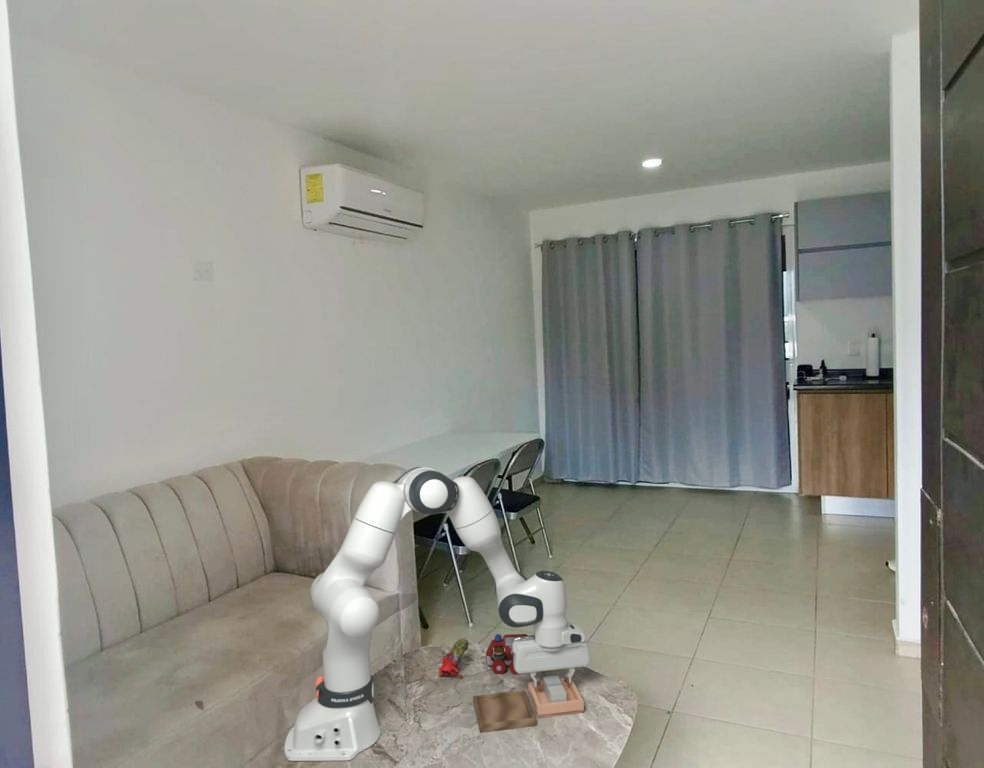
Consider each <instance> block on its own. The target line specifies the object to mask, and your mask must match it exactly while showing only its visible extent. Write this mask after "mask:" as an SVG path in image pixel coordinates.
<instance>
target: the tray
mask: <svg viewBox="0 0 984 768" xmlns="http://www.w3.org/2000/svg"><path fill="white" fill-rule="evenodd" d="M530 702H531V701H530V700H529V696H528V694H527V692H526V689H522V690H521V689H520V690H513V691H505V692H498V693H496V692H494V693H487V694H479V695H473V696H472V703H473V708H474V712H475V718H476V722H477V727H478V730H479V733H480V734H482V733H489V732H498V731H505V730H511V729H512V730H514V729H521V728H530V727H536V726H537V718H536V716H535V712H534V711H533V708H532V705H531V703H530Z"/></svg>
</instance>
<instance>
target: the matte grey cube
mask: <svg viewBox="0 0 984 768" xmlns="http://www.w3.org/2000/svg"><path fill="white" fill-rule="evenodd" d="M547 690H548V703H554V702H562V701H567V697H566V691H565V689H564V687H563V685H557V686H549V687H547Z"/></svg>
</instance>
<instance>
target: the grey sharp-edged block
mask: <svg viewBox="0 0 984 768" xmlns="http://www.w3.org/2000/svg"><path fill="white" fill-rule="evenodd" d="M559 678H560V677H559V675H557V674H556V675H547V676H543V677H542V680H543V690H544V694H545V696H546V698H547V699H548V690H547V687H549V686H557V685H561V681H560V679H559Z"/></svg>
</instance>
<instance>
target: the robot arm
mask: <svg viewBox="0 0 984 768" xmlns="http://www.w3.org/2000/svg"><path fill="white" fill-rule="evenodd" d="M412 510H413V511H415V512H418V513H421V514H423V515H428V516H429V515H437V514H441V513H446V514H447V516H448V517H449V519H450V521H451V523H452V525H453V528H454V530H455V532H456V534H457V535H458V537H459V539H460V540H461V542H462V543H463V544H464V546H465V547H466V548H467V549H468V550H470V551H473V552H475V553H476V552H478V553H479V554H480V555H481V557H483V559H484V561H485V563H486V565H487V567H488V569H489V571H490V573H491V575H492V577H493V579H494V591H495V597H496V602H497V608H498V609H497V611H498V615H499V618H500V619H501V621H502V622H503V623H504V624H505V625H507V626H508V627H510V628H518V629H519V628H523V627H525V628H526V627H529V626H533V634H532V635H528V636H523V637H522V636H520V637H517V639H515V640H514V641H513V642H512V651H513V652H514V657H513V666H514V669H515V671H516V672H517V673H518V674H517V675H520V674H529V675H530V677H531V679H532V680H533V681H534V687H540V681H541V680H540V678H539V677H536V675H537V672H538V673H539V672H546V671H553V670H554V671H555V670H565V669H568V670H567V673H565V674H563V678H564V682H565V684H568V683H571V678H572V677H573V676H574V674H575V672H576V668H581V667H582V668H583V667H588V666H589V665H590V663H591V655H590V653H591V652H590V649H589V644H588V643H587V641H586V634H585V631H584V630H583V629H582V627H581V626H580V625H579V624H577V623H573V622H568V619H567V615H566V612H567V609H568V607H567V606H568V605H567V604H568V603H567V590H566V586H565V585H566V584H565V581H564V579H563V578H562V576H561V575H559V574H558V573H555V572H553V571H550V570H539V571H536V572H535V573H534V574H533V576H531V577H530V578H529V579H528V578H527V577H526V575H524V574H522V572H520V571H519V570H518V569H517V568H516V567H515V565H514V564H513V561H512V560H511V558H510V556H509V554H508V552H507V550H506V548H505V547H504V544H503V542H502V541H503V540H502V531H501V526H500V524H499V520H498V517H497V515H496V512H495V509H494V508H493V506H492V504H491V502H490V500H489V499H488V497H487V495H486V494H485V492H484V491H483V489H482V487H481V486H480V485H479V483H478V482H477V481H476V480H475V479H474V478H473V477H471V476H464V475H463V476H462V475H461V476H457V477H455V478H453V479H452V478H449V477H448V476H446V475H445V474H443V473H441V472H440V471H437V470H435V469H434V468H431V467H422V466H416V467H413V468H410V469H408V470H406V471H405V472H404V473H403V474H402V475H400V476H399V477H398V478H397V479H395V480H394V481H393V482H392V481H388V480H380V481H376V482H373V484H372V485H371V486H370V487H369V489H368V490H367V491H366V493H365V495H364V496H363V498H362V500H361V502H360V504H359V505H358V508H357V509H356V512H355V513H354V514H355V515H354V517H353V519H352V521H351V523H350V526H349V528H348V531H347V533H346V535H345V538H344V539H343V541H342V542H343V543H342V544H341V546H340V549H339V550H338V552H337V554H336V555H335V556H334V558H333V559H332V561H331V562H330V564H329V565H327V568H326V569H325V570H324V571H323V572H322V573H320V574H319V575H318V576H316V578H315V579H314V580H313V582H312V583H311V586H310V592H309V593H310V599H311V601H312V605H313V607H314V609H315V611H317V613H318V614H320V616H321V617H323V619H324V620H325V623H326V625H327V626H326V627H327V639H326V646H324V649H323V651H322V666H323V667H322V668H323V675H322V676H320V675H319V676H318V677H317V678H316V681H315V697H314V698H313V699H312V700H311V701H309V703H307V704H306V705H305V706H304V707H302V708H301V710H300V711H299V713H298V715H297V717H296V719H295V722H294V725H293V727H292V728H291V729H290V730H289V732H288V733H287V736H286V738H285V743H284V756H285V758H286V760H288V761H291V762H296V761H298V762H300V761H301V762H309V761H310V762H314V761H315V762H317V761H318V762H319V761H322V762H323V761H324V762H326V761H330V762H331V761H351V760H353V759H354V758H355V757H357V756H358V754H359V753H361V752H363V751H364V750H366V749H368V748H370V747H372V746H373V745H374V744H375V743H376V742H377V741H378V739H379V738H380V735H381V727H380V725H379V722H378V719H377V715H376V710H375V705H374V699H375V686H374V679H373V675H372V671H371V653H370V651H371V650H370V649H371V639H372V634H373V633H372V632H373V631H374V629H375V628H376V626H377V625H378V623H379V622H378V621H379V619H380V607H379V605H378V603H377V600H376V599H375V598H374V596H373V594H372V593H371V591H369V590H368V589H366V588H365V585H366V583H367V581H368V580H369V578H370V577H371V576H372V574H373V573H374V572H375V571H376V570H377V569H379V568H380V567H382V566H383V565H384V564H385V562H386V560H387V557H388V554H389V552H390V549H391V547H392V545H393V542H394V539H395V537H396V534H397V532H398V529H399V526H400V523H401V521H402V520H403V518H404V517H405V516H406V515H407V514H408V513H409V512H410V511H412ZM516 640H518V641H516ZM533 681H532V682H533Z"/></svg>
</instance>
